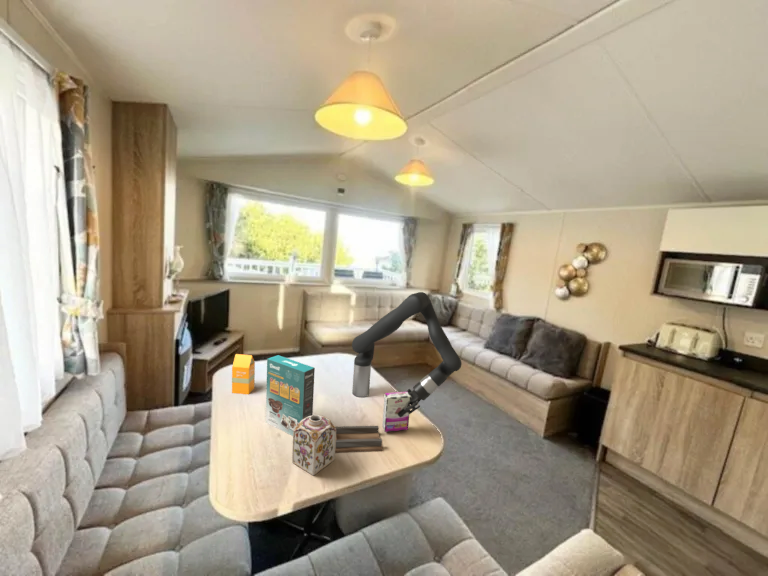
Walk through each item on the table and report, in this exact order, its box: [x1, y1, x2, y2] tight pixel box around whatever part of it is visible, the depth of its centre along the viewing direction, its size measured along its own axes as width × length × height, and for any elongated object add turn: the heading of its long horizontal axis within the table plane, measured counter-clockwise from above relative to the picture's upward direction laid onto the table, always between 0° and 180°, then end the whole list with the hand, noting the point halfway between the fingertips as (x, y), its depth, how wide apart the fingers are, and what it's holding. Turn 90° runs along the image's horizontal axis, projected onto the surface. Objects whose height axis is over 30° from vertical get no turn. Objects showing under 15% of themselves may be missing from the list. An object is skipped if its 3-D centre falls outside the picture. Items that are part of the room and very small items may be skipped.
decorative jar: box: [291, 414, 336, 476], centre depth 127 cm, size 12×12×18 cm
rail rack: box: [335, 425, 383, 453], centre depth 142 cm, size 14×20×4 cm
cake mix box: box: [265, 354, 316, 437], centre depth 146 cm, size 22×6×30 cm, turn 59°
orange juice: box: [231, 353, 256, 395], centre depth 177 cm, size 8×9×20 cm
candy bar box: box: [382, 391, 411, 433], centre depth 151 cm, size 11×5×16 cm, turn 105°
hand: (397, 412), depth 152 cm, fingers closed on candy bar box, 5 cm apart
